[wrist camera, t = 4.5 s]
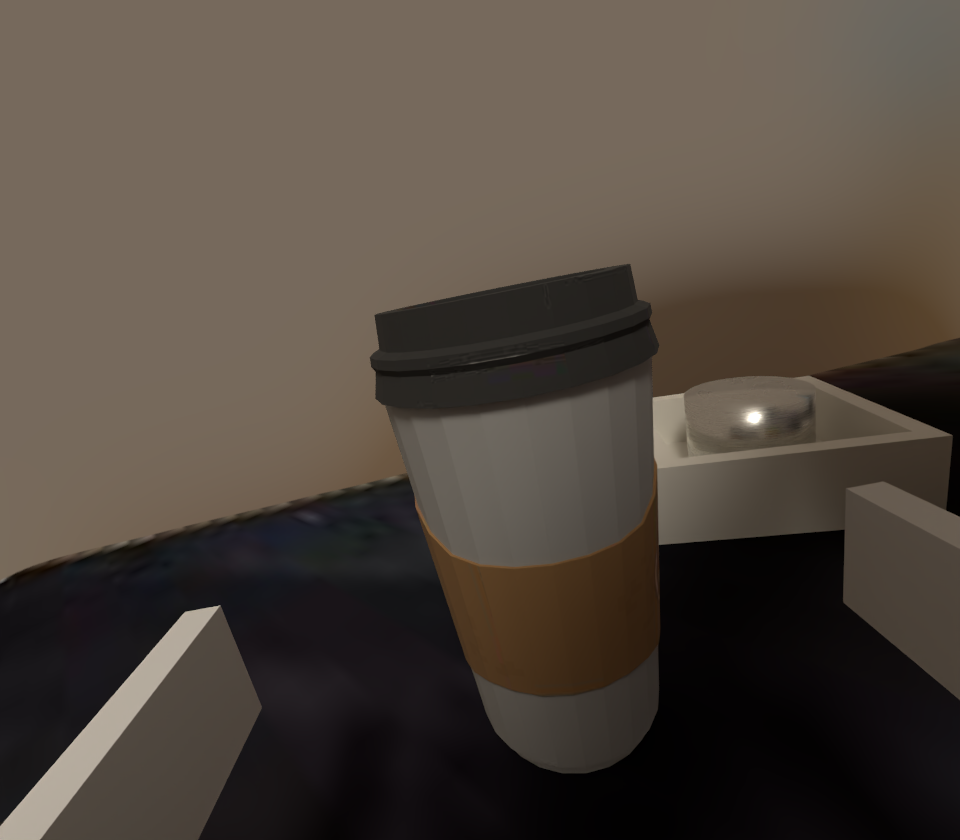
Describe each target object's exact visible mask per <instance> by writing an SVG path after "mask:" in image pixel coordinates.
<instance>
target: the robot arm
mask: <svg viewBox="0 0 960 840" xmlns="http://www.w3.org/2000/svg"><path fill="white" fill-rule="evenodd" d="M843 603H845V604H846V605H847V606H848V607H849V608H851V609H852V610H853V611H854V612H855V613H857V614H858V615H859V616H860V617H861V618H863V619H864V620H865V621H866V622H867V623H869V624H870V625H871V626H872V627H873V628H875V629H876V630H877V631H878V632H879V633H881V634H882V635H883V636H884V637H885V638H887V639H888V640H889V641H890V642H891V643H892V644H894V645H895V646H896V647H897V648H898V649H900V650H901V651H902V652H903V653H904V654H906V655H907V656H908V657H909V658H910V659H912V660H913V661H914V662H915V663H916V664H918V665H919V666H920V667H921V668H922V669H924V670H925V671H926V672H927V673H928V674H930V675H931V676H932V677H933V678H934V679H936V680H937V681H938V682H939V683H940V684H942V685H943V686H944V687H945V688H946V689H948V690H949V691H950V692H951V693H952V694H954V695H955V696H956V697H957V698H958V699H959V700H960V517H959V516H957V515H955V514H952V513H950V512H948V511H946V510H944V509H942V508H940V507H937V506H935V505H933V504H931V503H929V502H927V501H925V500H922V499H920V498H918V497H916V496H914V495H912V494H910V493H907V492H905V491H903V490H901V489H899V488H897V487H895V486H892V485H890V484H888V483H886V482H884V481H883V482H878V483H873V484H867V485H862V486H857V487H851V488H846V505H845V545H844V586H843ZM261 708H262V707H261V704H260V702H259V699H258V697H257V695H256V692H255V690H254V687H253V685H252V682H251V680H250V677H249V675H248V672H247V670H246V668H245V665H244V663H243V660H242V658H241V655H240V653H239V650H238V648H237V645H236V643H235V641H234V638H233V636H232V633H231V631H230V628H229V626H228V623H227V621H226V618H225V616H224V614H223V611H222V609H221V606H215V607H210V608H204V609H199V610H194V611H188V612H185V613H184V614H183V615H182V616H181V617H180V618H179V620H178V621H177V622H176V623H175V624H174V625H173V627H172V628H171V629H170V630H169V631H168V632H167V634H166V635H165V636H164V637H163V638H162V639H161V641H160V642H159V643H158V644H157V645H156V646H155V647H154V649H153V650H152V651H151V652H150V653H149V654H148V656H147V657H146V658H145V659H144V660H143V661H142V663H141V664H140V665H139V666H138V667H137V668H136V669H135V671H134V672H133V673H132V674H131V675H130V676H129V678H128V679H127V680H126V681H125V682H124V683H123V685H122V686H121V687H120V688H119V689H118V690H117V692H116V693H115V694H114V695H113V696H112V697H111V698H110V700H109V701H108V702H107V703H106V704H105V705H104V707H103V708H102V709H101V710H100V711H99V712H98V714H97V715H96V716H95V717H94V718H93V719H92V720H91V722H90V723H89V724H88V725H87V726H86V727H85V729H84V730H83V731H82V732H81V733H80V734H79V736H78V737H77V738H76V739H75V740H74V741H73V743H72V744H71V745H70V746H69V747H68V748H67V749H66V751H65V752H64V753H63V754H62V755H61V756H60V758H59V759H58V760H57V761H56V762H55V763H54V765H53V766H52V767H51V768H50V769H49V770H48V771H47V773H46V774H45V775H44V776H43V777H42V778H41V780H40V781H39V782H38V783H37V784H36V785H35V787H34V788H33V789H32V790H31V791H30V792H29V794H28V795H27V796H26V797H25V798H24V799H23V800H22V802H21V803H20V804H19V805H18V806H17V807H16V809H15V810H14V811H13V812H12V813H11V814H10V816H9V817H8V818H7V819H6V820H5V821H4V822H1V823H0V840H198V838H199V836H200V834H201V832H202V830H203V828H204V826H205V824H206V822H207V820H208V818H209V816H210V814H211V811H212V809H213V807H214V805H215V803H216V801H217V799H218V797H219V795H220V793H221V791H222V789H223V787H224V785H225V783H226V780H227V778H228V776H229V774H230V772H231V770H232V768H233V766H234V764H235V762H236V760H237V758H238V756H239V754H240V752H241V750H242V747H243V745H244V743H245V741H246V739H247V737H248V735H249V733H250V731H251V729H252V727H253V725H254V723H255V721H256V719H257V716H258V714H259V712H260V710H261Z"/></svg>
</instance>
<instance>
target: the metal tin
mask: <svg viewBox="0 0 960 840" xmlns="http://www.w3.org/2000/svg"><path fill="white" fill-rule="evenodd" d="M684 407H685V420H686V434H687V448H688V457H694V456H703V455H712V454H720V453H729V452H738V451H746V450H755V449H764V448H772V447H781V446H789V445H798V444H807V443H815V442H816V387H815V386H814V385H813V384H811V383H809V382H806V381H803V380H800V379H794V378H787V377H775V376H751V377H738V378H728V379H722V380H716V381H711V382H707V383H704V384H701V385H697V386H695V387H693V388H691V389H689V390H688V391H686V392H685V393H684Z"/></svg>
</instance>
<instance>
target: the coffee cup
mask: <svg viewBox="0 0 960 840" xmlns="http://www.w3.org/2000/svg"><path fill="white" fill-rule="evenodd" d="M651 314H652V310H651V305H650V303H648V302H645V301H641V300H637V295H636V290H635V285H634V280H633V276H632V271H631V266H630V264H626V265H619V266H612V267H607V268H601V269H595V270H590V271H584V272H579V273H573V274H568V275H563V276H557V277H552V278H547V279H542V280H536V281H531V282H526V283H521V284H516V285H511V286H506V287H501V288H496V289H491V290H486V291H481V292H476V293H471V294H466V295H461V296H456V297H451V298H446V299H442V300H437V301H432V302H427V303H423V304H418V305H414V306H409V307H405V308H400V309H396V310H391V311H387V312H383V313H379V314H376V315H375V321H376V328H377V335H378V341H379V350H378V351H376V352H375V353H373V354H372V356H371V357H370V361H371V367H372V368H373V369H374V370H375V371H376V399H377V400H378V401H379V402H380V403H381V404H383V405H385V406H386V409H387V412H388V415H389V418H390V421H391V424H392V427H393V430H394V433H395V437H396V439H397V443H398V446H399V449H400V452H401V455H402V458H403V461H404V464H405V467H406V470H407V473H408V476H409V479H410V482H411V485H412V488H413V491H414V494H415V506H416V510H417V513H418V516H419V519H420V522H421V525H422V528H423V531H424V534H425V537H426V540H427V543H428V546H429V549H430V552H431V555H432V558H433V561H434V564H435V567H436V570H437V573H438V576H439V579H440V582H441V585H442V588H443V591H444V594H445V597H446V600H447V603H448V606H449V609H450V612H451V615H452V618H453V621H454V624H455V627H456V630H457V633H458V636H459V639H460V642H461V645H462V648H463V651H464V654H465V657H466V660H467V662H468V663H469V665H470V667H471V668H472V671H473V674H474V677H475V680H476V683H477V686H478V689H479V692H480V696H481V699H482V702H483V705H484V708H485V711H486V714H487V716H488V718H489V720H490V722H491V724H492V726H493V728H494V730H495V732H496V733H497V734H498V735H499V736H500V738H501V739H502V740H503V741H504V742H505V743H506V744H507V745H508V746H509V747H510V748H511V749H513V750H514V751H516V752H517V753H518V754H519V755H520V756H521V757H523V758H524V759H526V760H528V761H530V762H531V763H533V764H535V765H537V766H538V767H540V768H544V769H548V770H552V771H556V772H560V773H589V772H593V771H596V770H600V769H603V768H607V767H610V766H612V765H613V764H615V763H616V762H618V761H620V760H621V759H623V758H625V757H626V756H628V755H629V754H630V753H631V752H632V751H633V750H634V748H635V747H636V746H637V745H638V744H639V743H640V742H641V740H642V739H643V737H644V735H645V734H646V733H647V732H648V730H649V729H650V727H651V725H652V722H653V720H654V717H655V715H656V713H657V710H658V699H659V664H658V644H659V637H660V588H659V534H658V480H657V463H656V461H655V458H654V438H653V392H652V356H653V355H655V354H656V353H657V351H658V347H659V343H658V341H657V338H656V336H655V333H654V330H653V328H652V325H651V323H650V320H649V319H650V316H651Z"/></svg>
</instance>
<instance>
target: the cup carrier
mask: <svg viewBox="0 0 960 840" xmlns="http://www.w3.org/2000/svg"><path fill="white" fill-rule="evenodd" d="M794 379H800V380H803V381H806V382H809V383H811V384H813V385H814V386H815V387H816V442H815V443H807V444H798V445H789V446H781V447H772V448H764V449H755V450H746V451H738V452H729V453H720V454H712V455H703V456H694V457H688V448H687V434H686V420H685V407H684V393H683V394H676V395H669V396H662V397H656V398H653V438H654V458H655V461H656V463H657V480H658V534H659V545H664V544H676V543H688V542H700V541H712V540H725V539H737V538H749V537H761V536H773V535H785V534H798V533H810V532H822V531H834V530H845V505H846V488H851V487H857V486H862V485H867V484H873V483H878V482H883V481H884V482H886V483H888V484H890V485H892V486H895V487H897V488H899V489H901V490H903V491H905V492H907V493H910V494H912V495H914V496H916V497H918V498H920V499H922V500H925V501H927V502H929V503H931V504H933V505H935V506H937V507H940V508H942V509H944V510H946V505H947V494H948V483H949V472H950V461H951V450H952V439H953V435H951V434H948V433H946V432H943V431H941V430H939V429H936V428H934V427H931V426H929V425H927V424H924V423H922V422H919V421H917V420H915V419H912V418H910V417H907V416H905V415H903V414H900V413H898V412H895V411H893V410H890V409H888V408H886V407H883V406H881V405H878V404H876V403H874V402H871V401H869V400H866V399H864V398H862V397H859V396H857V395H854V394H852V393H849V392H847V391H845V390H842V389H840V388H837V387H835V386H833V385H830V384H828V383H825V382H823V381H821V380H818V379H816V378H813V377H811V376H804V377H797V378H794Z"/></svg>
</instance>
